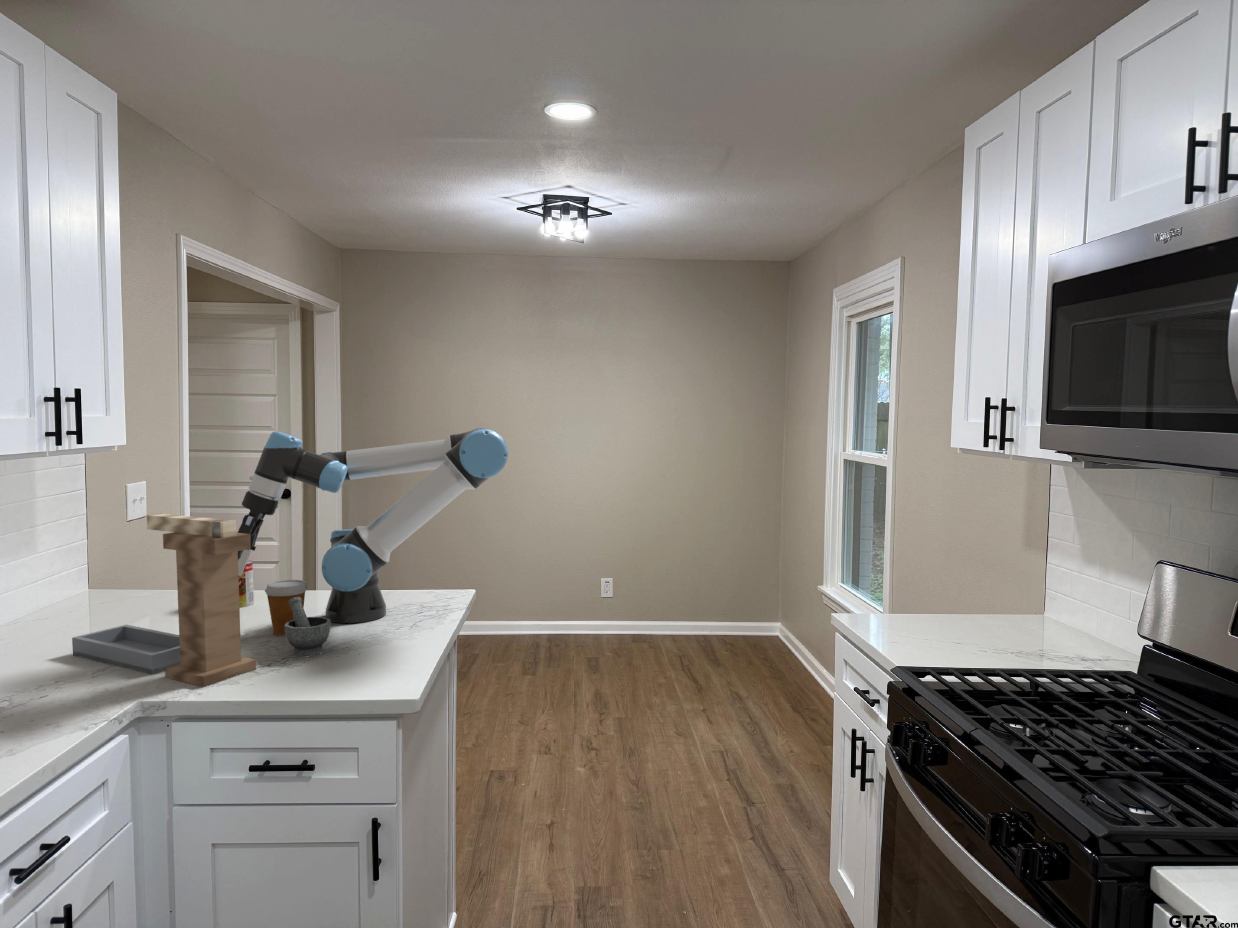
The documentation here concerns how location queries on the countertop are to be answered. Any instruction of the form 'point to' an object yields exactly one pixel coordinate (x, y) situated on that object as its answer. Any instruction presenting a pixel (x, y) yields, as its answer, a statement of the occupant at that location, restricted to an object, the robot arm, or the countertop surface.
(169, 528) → the bar
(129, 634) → the tray
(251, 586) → the canned food
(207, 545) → the post stand
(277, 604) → the disposable coffee cup
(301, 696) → the countertop surface
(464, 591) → the countertop surface
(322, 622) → the mortar and pestle
